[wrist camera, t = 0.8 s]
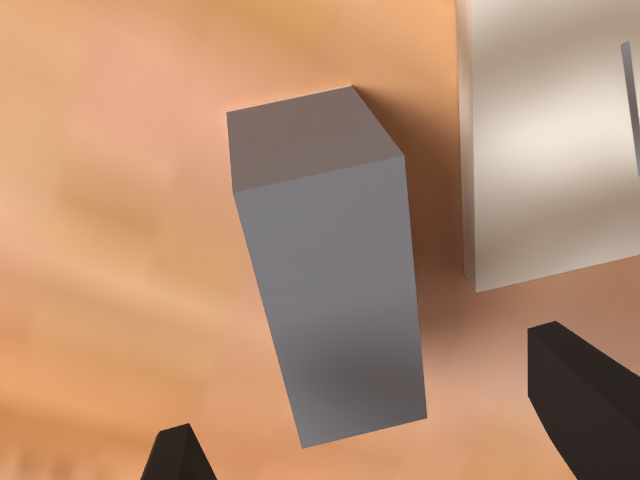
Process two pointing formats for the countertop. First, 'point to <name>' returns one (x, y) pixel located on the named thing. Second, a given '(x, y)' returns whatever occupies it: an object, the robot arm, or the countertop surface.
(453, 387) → the countertop surface
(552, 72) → the ash board
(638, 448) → the robot arm
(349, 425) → the block
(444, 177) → the countertop surface
